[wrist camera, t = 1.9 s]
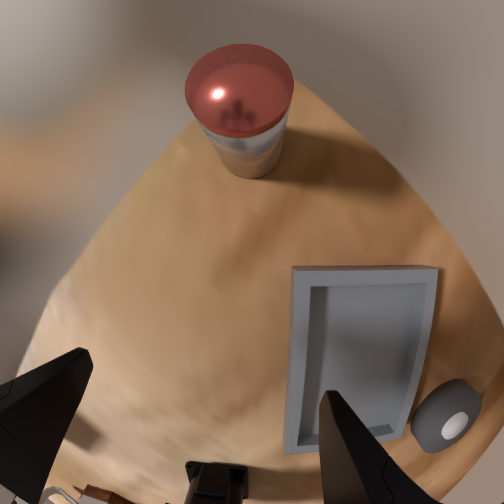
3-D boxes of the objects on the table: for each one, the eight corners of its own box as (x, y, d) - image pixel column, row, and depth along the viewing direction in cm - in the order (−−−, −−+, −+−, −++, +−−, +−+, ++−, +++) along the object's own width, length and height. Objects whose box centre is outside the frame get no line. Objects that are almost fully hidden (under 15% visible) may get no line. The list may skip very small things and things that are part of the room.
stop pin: (280, 178, 19) (296, 130, 10) (220, 179, 20) (180, 133, 10) (279, 123, 19) (290, 43, 9) (221, 124, 19) (189, 48, 9)
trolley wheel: (455, 427, 20) (468, 442, 17) (402, 444, 21) (413, 464, 17) (476, 372, 20) (494, 385, 16) (422, 387, 20) (439, 405, 17)
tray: (391, 423, 21) (400, 437, 18) (282, 436, 21) (284, 453, 19) (421, 264, 19) (438, 268, 17) (291, 266, 20) (295, 270, 17)
